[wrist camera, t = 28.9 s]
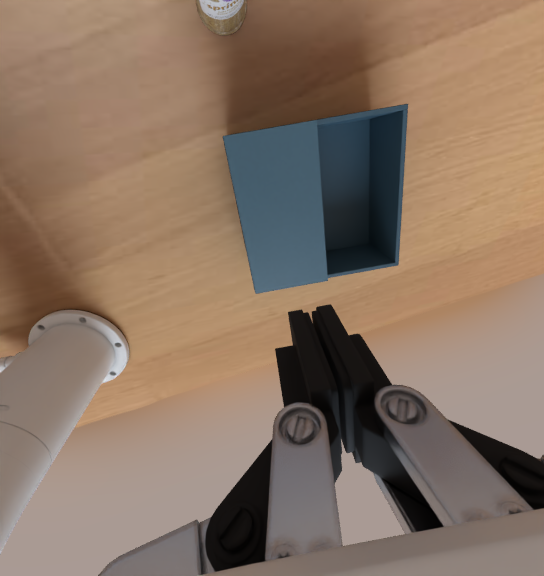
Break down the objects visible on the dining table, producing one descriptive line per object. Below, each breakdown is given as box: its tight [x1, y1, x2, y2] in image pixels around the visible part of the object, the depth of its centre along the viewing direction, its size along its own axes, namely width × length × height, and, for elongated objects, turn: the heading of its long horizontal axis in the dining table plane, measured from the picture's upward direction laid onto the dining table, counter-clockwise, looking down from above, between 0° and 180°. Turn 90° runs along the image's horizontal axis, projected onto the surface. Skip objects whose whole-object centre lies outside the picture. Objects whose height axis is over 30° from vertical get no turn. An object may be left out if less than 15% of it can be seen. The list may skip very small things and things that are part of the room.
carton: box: [223, 104, 408, 289], centre depth 30 cm, size 16×15×7 cm
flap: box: [223, 120, 328, 294], centre depth 26 cm, size 8×15×1 cm, turn 9°
